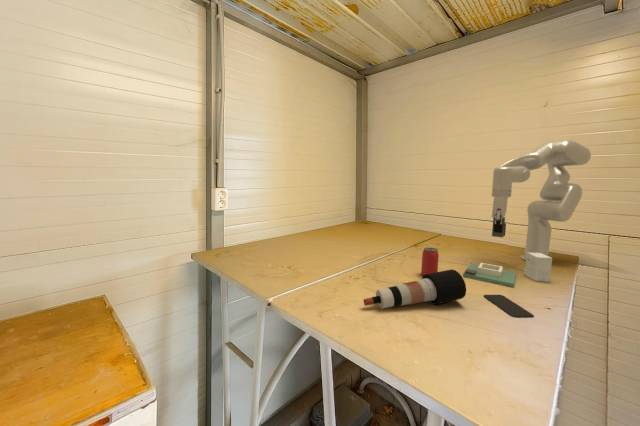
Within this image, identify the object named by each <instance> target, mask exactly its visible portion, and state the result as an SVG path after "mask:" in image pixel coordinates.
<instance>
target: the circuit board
mask: <svg viewBox="0 0 640 426" xmlns="http://www.w3.org/2000/svg"><path fill="white" fill-rule="evenodd" d="M479 265H480V264H477V263H470V264H469V265H468V266H467V268H466V269H465V270H464V272H463V273H462V278H463V277H464V278H468V279H471V280H477V281H480V282H481V281H482V282H486V283H490V284H495V285H498V286H499V285H501V286H505V287H509V288H514V287H515V283H516V275H517V271H516V270H509V269H504V268H503V271H502V275H501V278H500V277H495V276H490V275H486V274H481V273H478V267H479Z"/></svg>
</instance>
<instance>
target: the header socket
mask: <svg viewBox="0 0 640 426" xmlns="http://www.w3.org/2000/svg"><path fill="white" fill-rule="evenodd" d="M478 265H479V267H478V273H481V274H486V275H490V276H495V277H500V278H501V275H502V271H503V269H504V267H503V266H501V265H495V264H491V263H490V264H489V263H485V262H480V263H479V264H478Z"/></svg>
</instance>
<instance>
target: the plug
mask: <svg viewBox="0 0 640 426" xmlns="http://www.w3.org/2000/svg"><path fill="white" fill-rule="evenodd" d="M500 218H501V217H500ZM494 224H495V217H492V231H491V237H497V238H504V237H506V232H507V231H506V229H507V223H506V216H505V217H504V218H503V219H502V224H503V225H502V233H498V232H494Z"/></svg>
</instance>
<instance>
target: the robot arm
mask: <svg viewBox="0 0 640 426" xmlns="http://www.w3.org/2000/svg"><path fill="white" fill-rule="evenodd" d="M591 155H592V153H591V151H590V149H589V148H587V147H586V146H585V145H583V144H582V143H579V142H576V141H574V140H569V139H567V140H555V141H548V142H545V143H543V144H542V145H540V146H538V147H537V148H535V149H534V150H532V151H531V152H529V153H528V154H525V155H522V156H519V157H517V158H513V159H510V160H509V161H506V162H505V163H503V164H501V165H499V167H495V168H494V170H493V172H492V173H493V174H492V175H493V176H492V186H491V187H492V188H491V197H493V203H492V210H491V218H494V217H495V224H494V232H498V233H502V225H503V224H502V219H503V218H504V217H505V218H506V214H507V208H508V198H511V197H512V187H513V183H515V184H516V183H517V184H519V183H524V182H526V181H528V180H529V178H530V176H531V171H535V170H538V169H541V168H542V167H543V166H545V165H546V164H547V168H548V176H547V179H546V180H545V182H544V184H543V186H542V187H541V189H540V192H539V197H540V199H541V200H534V201H531V202H530V203H529V204H528V205H527V218H528V219H527V221H528V222H527V223H528V224H527V231H526V232H527V233H526V240H525V249H524V254H521V255H520V259H522V260H524V261H526V256H527V252H531V253H542V254H544V255H546V256H549V252H550V244H551V236H552V225H551V223H550V221H553V222H562V223H563V222H568V220H570V218H571V217H572V215H573V214H574V212H575V210H576V208H577V206H578V205H579V203H580V201H581V199H582V195H583V189H582V187H581V185H580V184H577V183H572V182H571V183H570V182H569V181H570V179H571V174H570V173H569V172H568V170H567V169H566V168H565V167H572V166H584V165H586V164H588V163H589V161H590V160H591V158H592V156H591ZM500 217H501V218H500Z"/></svg>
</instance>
